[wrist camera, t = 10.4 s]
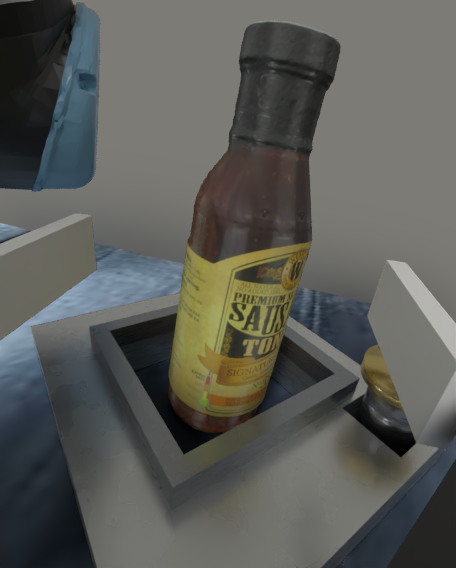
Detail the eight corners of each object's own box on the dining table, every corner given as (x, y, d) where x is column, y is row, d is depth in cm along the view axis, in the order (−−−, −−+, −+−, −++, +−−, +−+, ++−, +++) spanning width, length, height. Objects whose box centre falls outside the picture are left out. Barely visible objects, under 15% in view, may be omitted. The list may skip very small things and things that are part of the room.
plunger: (328, 415, 19) (347, 359, 17) (371, 388, 22) (392, 336, 20) (398, 478, 16) (431, 417, 14) (439, 438, 18) (472, 382, 17)
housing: (37, 354, 24) (26, 308, 22) (234, 300, 34) (238, 265, 32) (146, 765, 9) (144, 728, 8) (437, 460, 19) (466, 412, 17)
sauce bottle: (212, 461, 17) (315, -11, 9) (146, 392, 21) (173, 6, 12) (281, 403, 22) (394, 55, 13) (217, 354, 26) (273, 53, 17)
